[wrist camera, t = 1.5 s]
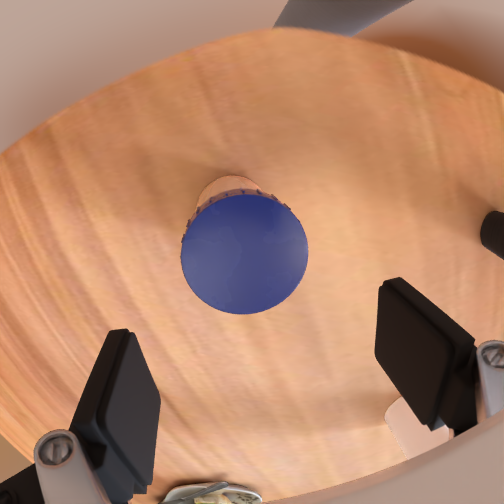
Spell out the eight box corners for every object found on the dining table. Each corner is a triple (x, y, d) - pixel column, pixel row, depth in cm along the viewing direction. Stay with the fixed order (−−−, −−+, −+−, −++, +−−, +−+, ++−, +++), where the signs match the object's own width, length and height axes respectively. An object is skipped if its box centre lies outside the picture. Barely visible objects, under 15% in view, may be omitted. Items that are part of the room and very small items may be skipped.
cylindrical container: (423, 382, 38) (512, 508, 15) (425, 407, 40) (499, 520, 17) (381, 407, 38) (458, 546, 15) (387, 429, 41) (452, 552, 17)
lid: (206, 169, 16) (206, 173, 15) (318, 212, 18) (330, 221, 16) (168, 278, 18) (164, 294, 16) (272, 311, 20) (278, 328, 18)
